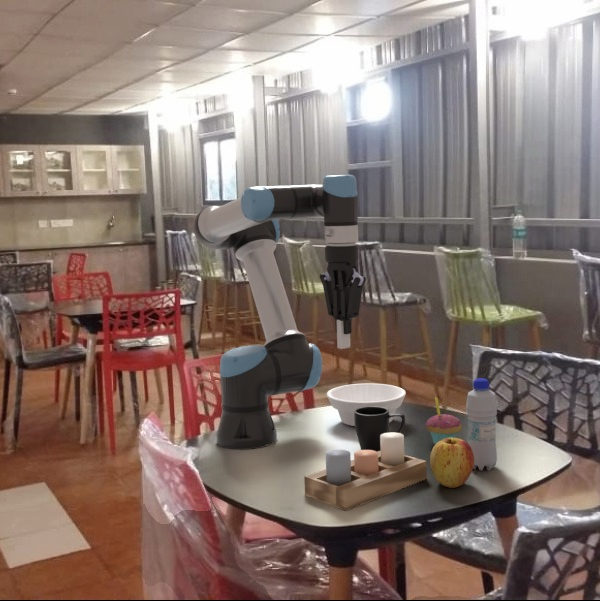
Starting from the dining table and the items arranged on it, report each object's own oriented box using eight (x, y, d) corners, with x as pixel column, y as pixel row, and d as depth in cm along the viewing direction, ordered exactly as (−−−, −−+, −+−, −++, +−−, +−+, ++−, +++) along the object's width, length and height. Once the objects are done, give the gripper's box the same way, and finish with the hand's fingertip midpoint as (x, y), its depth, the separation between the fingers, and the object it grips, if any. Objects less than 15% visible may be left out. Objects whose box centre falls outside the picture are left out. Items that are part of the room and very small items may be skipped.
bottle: (480, 474, 177) (479, 383, 174) (460, 465, 183) (459, 377, 180) (504, 468, 180) (503, 379, 177) (484, 460, 186) (483, 373, 183)
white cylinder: (376, 463, 177) (375, 436, 176) (391, 457, 180) (391, 431, 179) (393, 468, 173) (392, 440, 172) (409, 462, 176) (408, 435, 175)
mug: (402, 456, 190) (401, 416, 189) (351, 453, 194) (350, 414, 192) (408, 445, 198) (407, 407, 197) (359, 443, 202) (358, 405, 200)
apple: (481, 490, 168) (481, 442, 166) (439, 494, 166) (439, 447, 165) (463, 475, 177) (463, 430, 175) (423, 480, 175) (422, 434, 173)
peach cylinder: (349, 481, 172) (349, 453, 171) (366, 475, 175) (365, 448, 174) (367, 487, 168) (366, 459, 167) (383, 481, 171) (383, 453, 171)
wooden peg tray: (304, 495, 168) (304, 476, 168) (385, 466, 184) (384, 449, 183) (346, 510, 159) (345, 490, 159) (426, 479, 175) (426, 460, 174)
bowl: (318, 416, 228) (317, 387, 227) (390, 408, 233) (389, 380, 231) (340, 437, 207) (339, 405, 206) (418, 428, 212) (418, 397, 211)
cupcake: (422, 447, 197) (421, 398, 195) (430, 436, 205) (429, 389, 203) (458, 450, 194) (457, 400, 192) (465, 439, 201) (464, 391, 200)
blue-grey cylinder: (321, 482, 166) (320, 453, 166) (339, 476, 170) (338, 447, 169) (338, 488, 163) (337, 459, 162) (356, 481, 166) (355, 453, 165)
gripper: (309, 244, 187) (312, 346, 190) (349, 246, 177) (352, 354, 180) (333, 242, 192) (336, 341, 195) (374, 244, 182) (375, 348, 185)
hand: (343, 347), depth 188 cm, fingers closed
